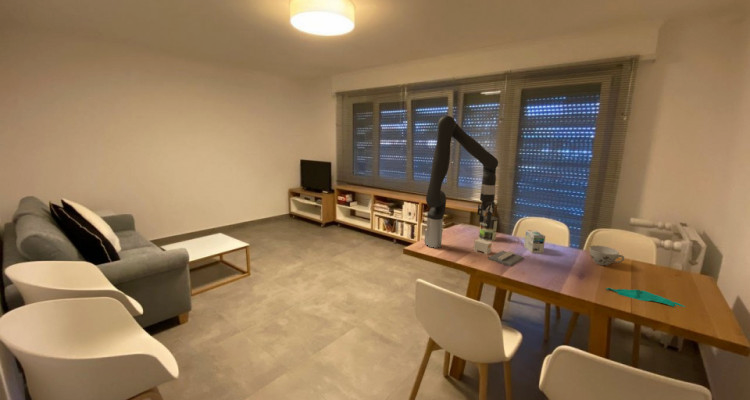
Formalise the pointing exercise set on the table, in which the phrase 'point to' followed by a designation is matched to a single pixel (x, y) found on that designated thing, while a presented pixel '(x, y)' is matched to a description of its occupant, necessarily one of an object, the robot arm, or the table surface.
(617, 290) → the cloth
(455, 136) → the robot arm
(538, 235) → the light bulb box
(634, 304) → the table surface
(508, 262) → the mounting board
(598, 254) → the teacup
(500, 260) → the metal rail
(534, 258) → the table surface
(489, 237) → the coffee can
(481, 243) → the block
